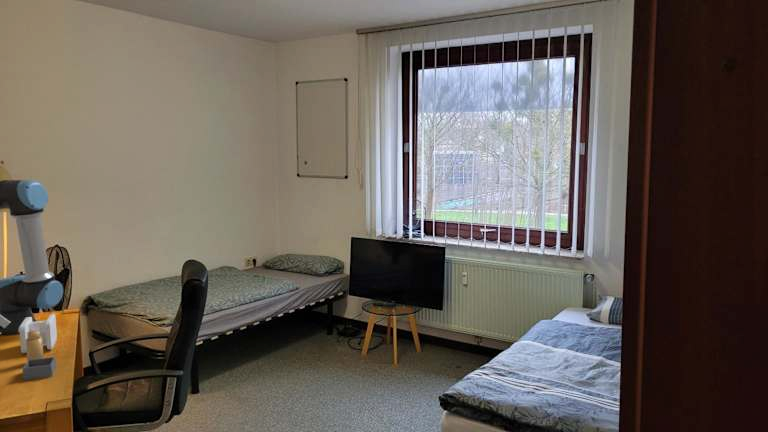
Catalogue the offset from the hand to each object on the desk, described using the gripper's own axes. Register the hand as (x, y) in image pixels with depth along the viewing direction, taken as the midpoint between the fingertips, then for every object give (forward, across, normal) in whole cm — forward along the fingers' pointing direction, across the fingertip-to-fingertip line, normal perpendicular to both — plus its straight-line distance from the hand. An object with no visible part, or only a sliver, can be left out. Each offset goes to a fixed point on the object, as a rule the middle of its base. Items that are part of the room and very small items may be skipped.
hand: (3, 330), depth 203 cm
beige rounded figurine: (+16, -1, -3) cm, 16 cm away
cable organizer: (+15, -18, -4) cm, 24 cm away
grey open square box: (+18, +12, 0) cm, 22 cm away
